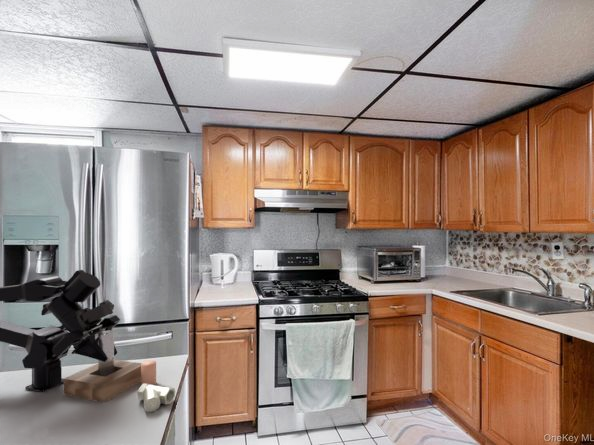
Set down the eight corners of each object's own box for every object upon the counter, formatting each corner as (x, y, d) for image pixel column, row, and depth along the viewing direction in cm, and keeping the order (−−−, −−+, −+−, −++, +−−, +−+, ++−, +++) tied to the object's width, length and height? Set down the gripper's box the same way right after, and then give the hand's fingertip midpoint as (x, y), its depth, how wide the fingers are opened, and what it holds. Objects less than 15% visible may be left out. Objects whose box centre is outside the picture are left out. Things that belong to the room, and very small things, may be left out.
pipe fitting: (155, 417, 72) (175, 400, 78) (154, 400, 72) (174, 384, 78) (126, 411, 74) (148, 395, 81) (125, 395, 74) (147, 379, 80)
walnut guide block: (63, 394, 81) (63, 378, 81) (108, 372, 94) (108, 358, 94) (104, 402, 77) (104, 385, 77) (145, 378, 90) (145, 363, 90)
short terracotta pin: (138, 386, 85) (138, 365, 85) (148, 380, 89) (148, 360, 89) (149, 388, 84) (149, 366, 84) (159, 382, 87) (159, 361, 88)
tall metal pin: (95, 386, 83) (95, 335, 84) (101, 380, 87) (101, 330, 87) (110, 385, 84) (111, 334, 84) (116, 379, 88) (116, 330, 88)
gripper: (64, 300, 77) (109, 348, 76) (114, 286, 96) (150, 325, 95) (32, 333, 77) (77, 382, 76) (88, 313, 96) (124, 352, 95)
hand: (111, 357), depth 86 cm, fingers closed on tall metal pin, 4 cm apart
